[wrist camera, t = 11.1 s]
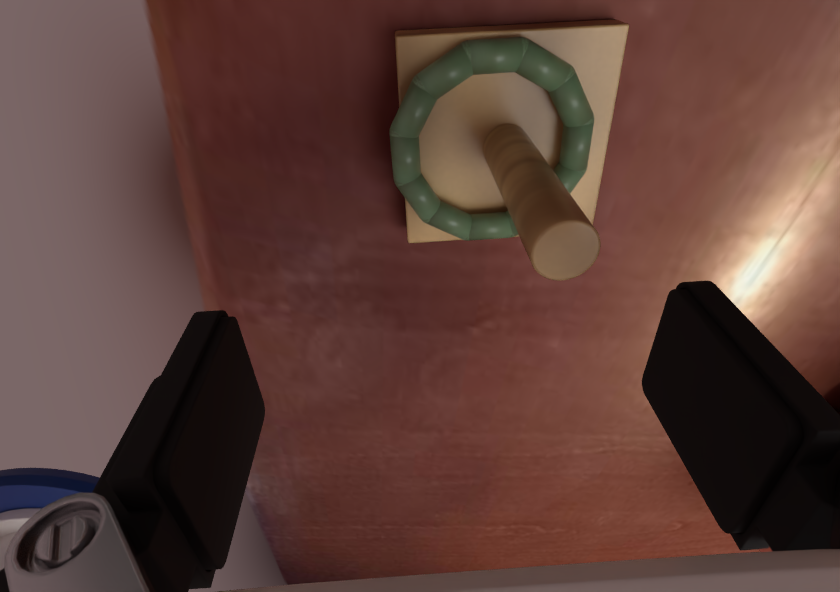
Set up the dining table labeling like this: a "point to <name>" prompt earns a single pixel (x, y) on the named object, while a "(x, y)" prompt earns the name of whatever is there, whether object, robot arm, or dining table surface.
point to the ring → (448, 75)
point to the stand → (516, 138)
